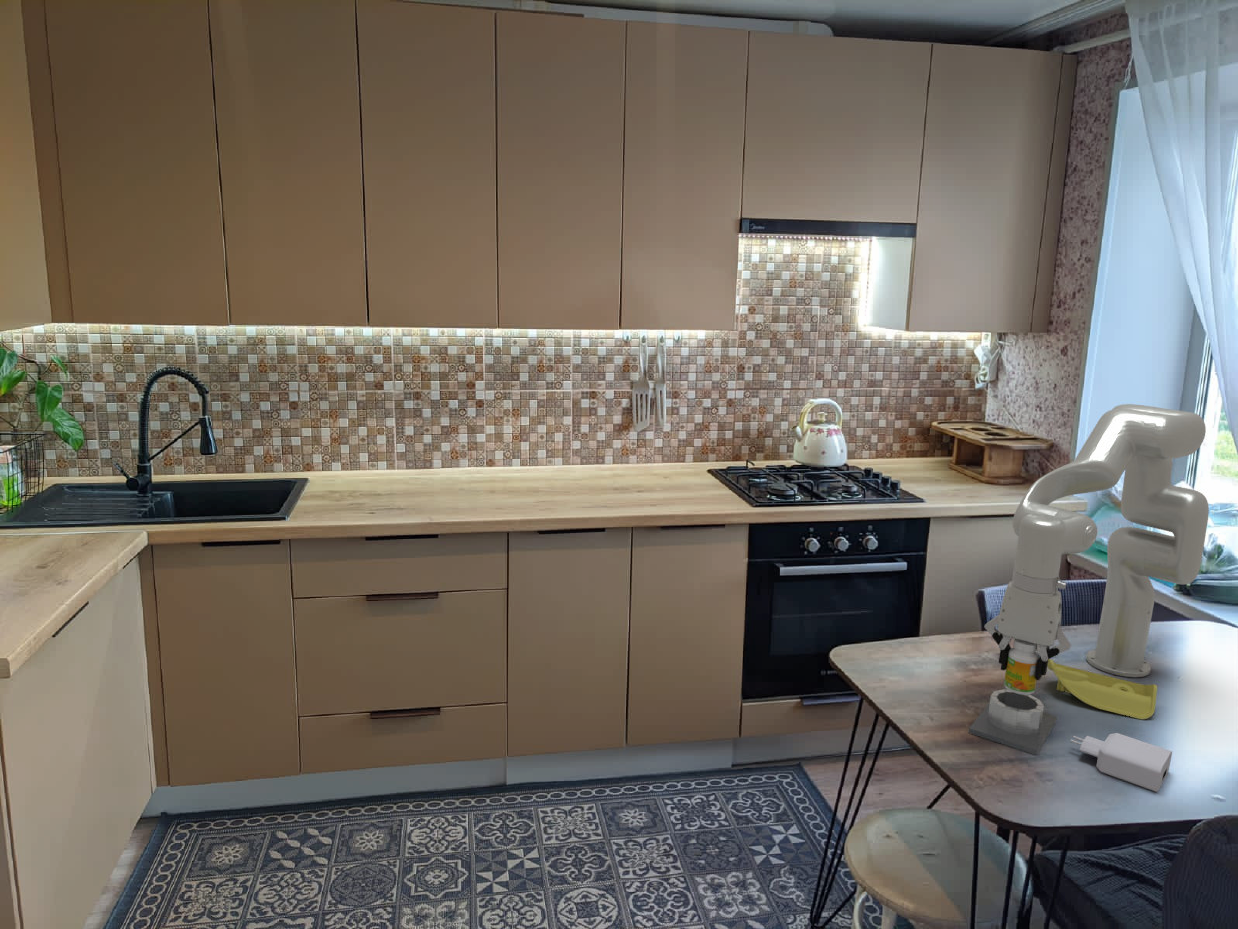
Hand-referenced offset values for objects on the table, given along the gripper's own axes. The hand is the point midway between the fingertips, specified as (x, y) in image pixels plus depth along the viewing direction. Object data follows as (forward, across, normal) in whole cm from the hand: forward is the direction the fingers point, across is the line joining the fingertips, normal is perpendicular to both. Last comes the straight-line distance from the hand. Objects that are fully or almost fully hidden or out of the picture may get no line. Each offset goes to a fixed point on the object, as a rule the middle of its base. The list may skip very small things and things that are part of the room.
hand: (1021, 671), depth 170 cm
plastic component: (+12, -10, -24) cm, 29 cm away
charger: (+12, -18, +2) cm, 21 cm away
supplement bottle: (+4, 0, 0) cm, 4 cm away
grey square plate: (+11, 0, 0) cm, 11 cm away
